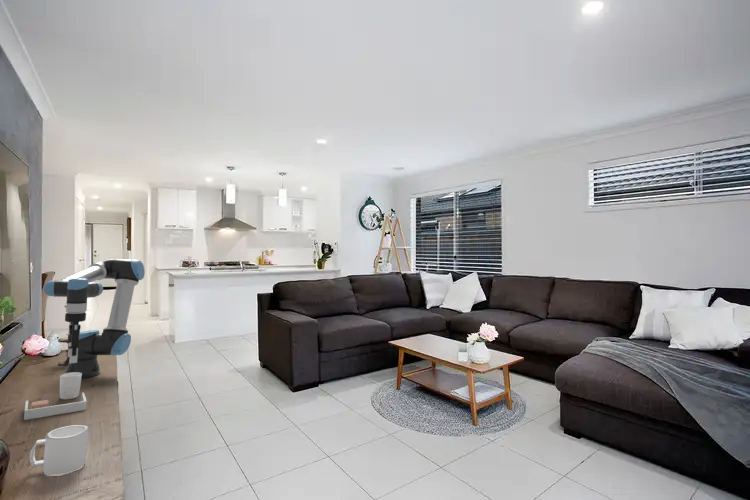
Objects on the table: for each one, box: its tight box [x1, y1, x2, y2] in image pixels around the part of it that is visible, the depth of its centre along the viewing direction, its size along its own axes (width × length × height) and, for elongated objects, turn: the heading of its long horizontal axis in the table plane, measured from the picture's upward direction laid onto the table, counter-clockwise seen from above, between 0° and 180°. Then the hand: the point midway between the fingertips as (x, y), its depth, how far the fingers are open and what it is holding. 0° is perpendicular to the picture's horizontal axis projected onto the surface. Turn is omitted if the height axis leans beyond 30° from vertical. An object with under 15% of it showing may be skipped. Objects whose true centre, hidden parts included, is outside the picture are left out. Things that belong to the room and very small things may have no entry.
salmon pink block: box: [30, 399, 49, 409], centre depth 157 cm, size 5×5×4 cm
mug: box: [28, 424, 89, 475], centre depth 117 cm, size 14×10×11 cm
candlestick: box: [57, 322, 71, 366], centre depth 228 cm, size 11×11×35 cm
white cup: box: [59, 372, 82, 400], centre depth 175 cm, size 8×8×10 cm
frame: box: [23, 392, 88, 421], centre depth 160 cm, size 13×19×4 cm
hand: (72, 359), depth 176 cm, fingers open, 13 cm apart
